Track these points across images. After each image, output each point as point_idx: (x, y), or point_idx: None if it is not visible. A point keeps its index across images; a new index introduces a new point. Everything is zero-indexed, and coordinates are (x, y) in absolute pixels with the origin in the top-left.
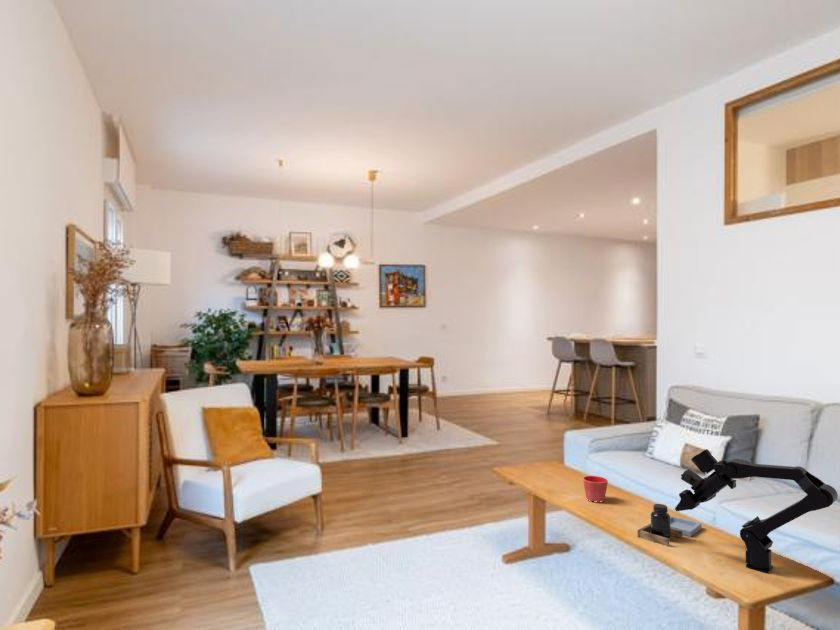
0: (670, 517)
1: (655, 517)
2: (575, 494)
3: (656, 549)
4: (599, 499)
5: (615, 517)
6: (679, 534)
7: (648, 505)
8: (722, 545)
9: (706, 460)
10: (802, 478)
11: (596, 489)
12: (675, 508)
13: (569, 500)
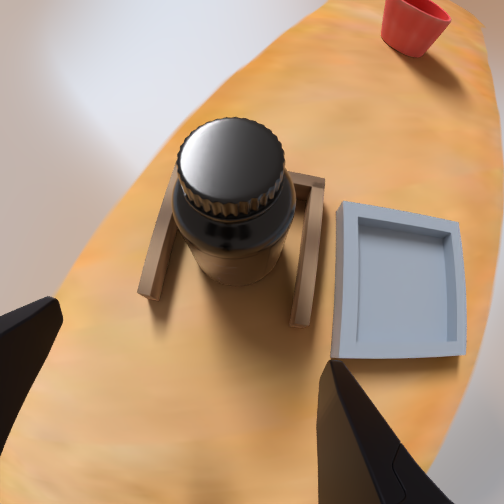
0: (443, 228)
1: (175, 182)
2: None
3: (93, 266)
4: (396, 42)
5: (326, 81)
6: (293, 315)
7: (489, 150)
8: None
9: None
10: None
11: (394, 14)
12: (41, 303)
13: (346, 11)
